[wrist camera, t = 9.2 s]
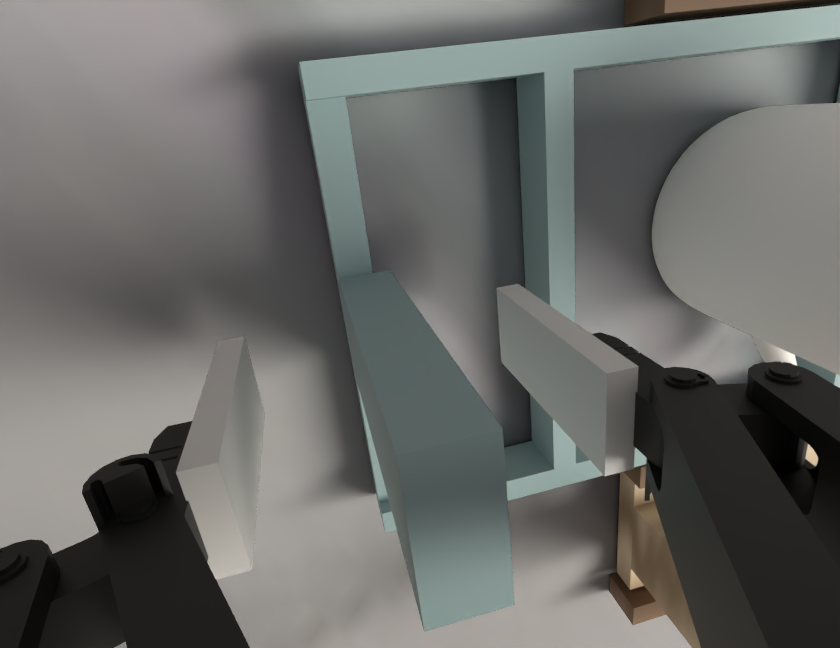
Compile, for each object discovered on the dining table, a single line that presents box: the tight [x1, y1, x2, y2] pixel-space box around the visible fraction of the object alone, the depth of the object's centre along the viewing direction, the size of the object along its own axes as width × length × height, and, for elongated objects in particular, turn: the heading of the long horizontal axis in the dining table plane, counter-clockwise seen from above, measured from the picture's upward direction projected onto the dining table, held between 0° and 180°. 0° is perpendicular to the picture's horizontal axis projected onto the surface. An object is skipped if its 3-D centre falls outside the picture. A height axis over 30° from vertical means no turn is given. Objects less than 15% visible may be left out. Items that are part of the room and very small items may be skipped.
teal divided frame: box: [298, 5, 840, 632], centre depth 16 cm, size 17×22×12 cm
